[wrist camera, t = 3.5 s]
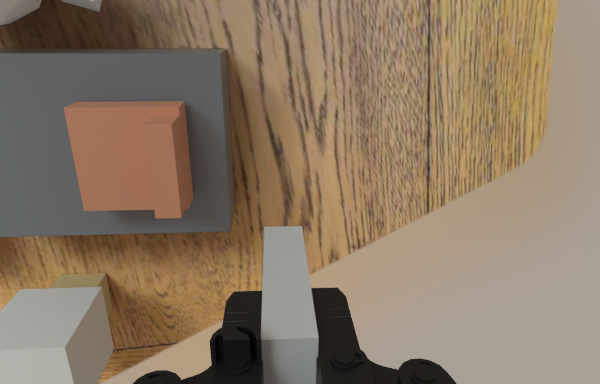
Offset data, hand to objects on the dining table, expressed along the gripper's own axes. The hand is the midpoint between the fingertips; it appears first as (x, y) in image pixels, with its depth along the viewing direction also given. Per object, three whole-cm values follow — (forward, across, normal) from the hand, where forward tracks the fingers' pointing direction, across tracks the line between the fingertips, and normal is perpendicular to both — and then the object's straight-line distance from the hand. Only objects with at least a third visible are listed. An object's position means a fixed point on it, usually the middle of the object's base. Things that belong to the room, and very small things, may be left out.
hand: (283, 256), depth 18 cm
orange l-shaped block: (+14, -10, 0) cm, 17 cm away
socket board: (+20, -13, 0) cm, 23 cm away
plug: (+20, -18, -15) cm, 30 cm away
